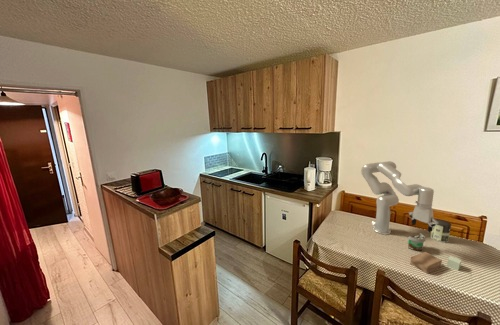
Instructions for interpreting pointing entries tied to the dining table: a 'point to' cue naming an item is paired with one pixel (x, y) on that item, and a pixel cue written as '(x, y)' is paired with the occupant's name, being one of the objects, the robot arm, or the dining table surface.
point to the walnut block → (426, 262)
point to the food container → (416, 242)
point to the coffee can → (441, 231)
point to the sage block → (454, 263)
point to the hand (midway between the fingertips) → (421, 227)
